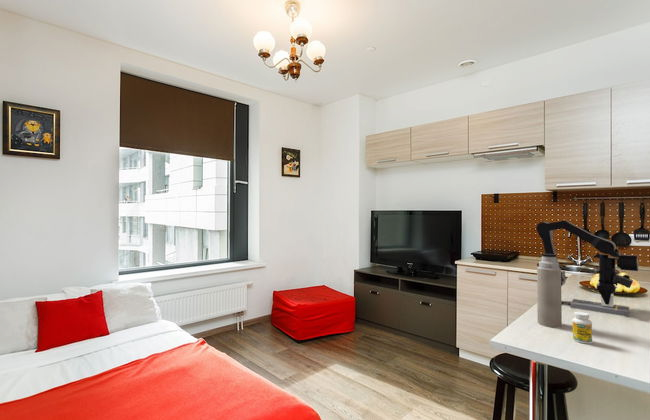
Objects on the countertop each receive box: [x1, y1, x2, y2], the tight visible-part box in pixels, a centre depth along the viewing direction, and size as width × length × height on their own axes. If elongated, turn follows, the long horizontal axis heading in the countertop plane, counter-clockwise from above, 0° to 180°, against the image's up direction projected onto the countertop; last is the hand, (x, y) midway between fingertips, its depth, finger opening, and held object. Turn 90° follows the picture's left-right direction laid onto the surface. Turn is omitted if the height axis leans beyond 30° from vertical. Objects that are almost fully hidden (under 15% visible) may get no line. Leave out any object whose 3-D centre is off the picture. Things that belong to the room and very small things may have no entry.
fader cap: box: [600, 293, 615, 307], centre depth 150 cm, size 4×4×5 cm
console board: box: [569, 298, 630, 317], centre depth 152 cm, size 20×10×2 cm, turn 46°
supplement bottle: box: [571, 311, 593, 345], centre depth 116 cm, size 5×5×10 cm
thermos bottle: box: [536, 253, 563, 329], centre depth 133 cm, size 8×8×28 cm
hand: (607, 303), depth 150 cm, fingers closed on fader cap, 4 cm apart
